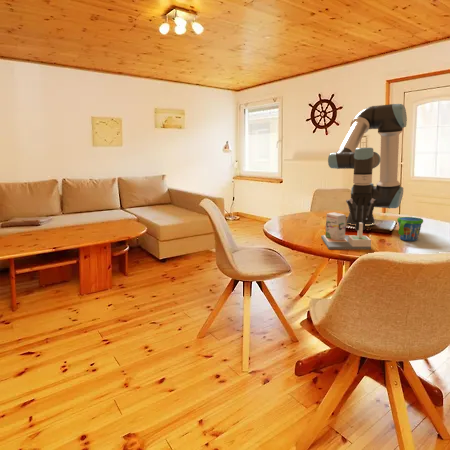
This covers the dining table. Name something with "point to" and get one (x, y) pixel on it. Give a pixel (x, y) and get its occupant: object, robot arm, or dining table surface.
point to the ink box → (335, 226)
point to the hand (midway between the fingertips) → (359, 237)
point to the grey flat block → (347, 242)
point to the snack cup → (409, 228)
